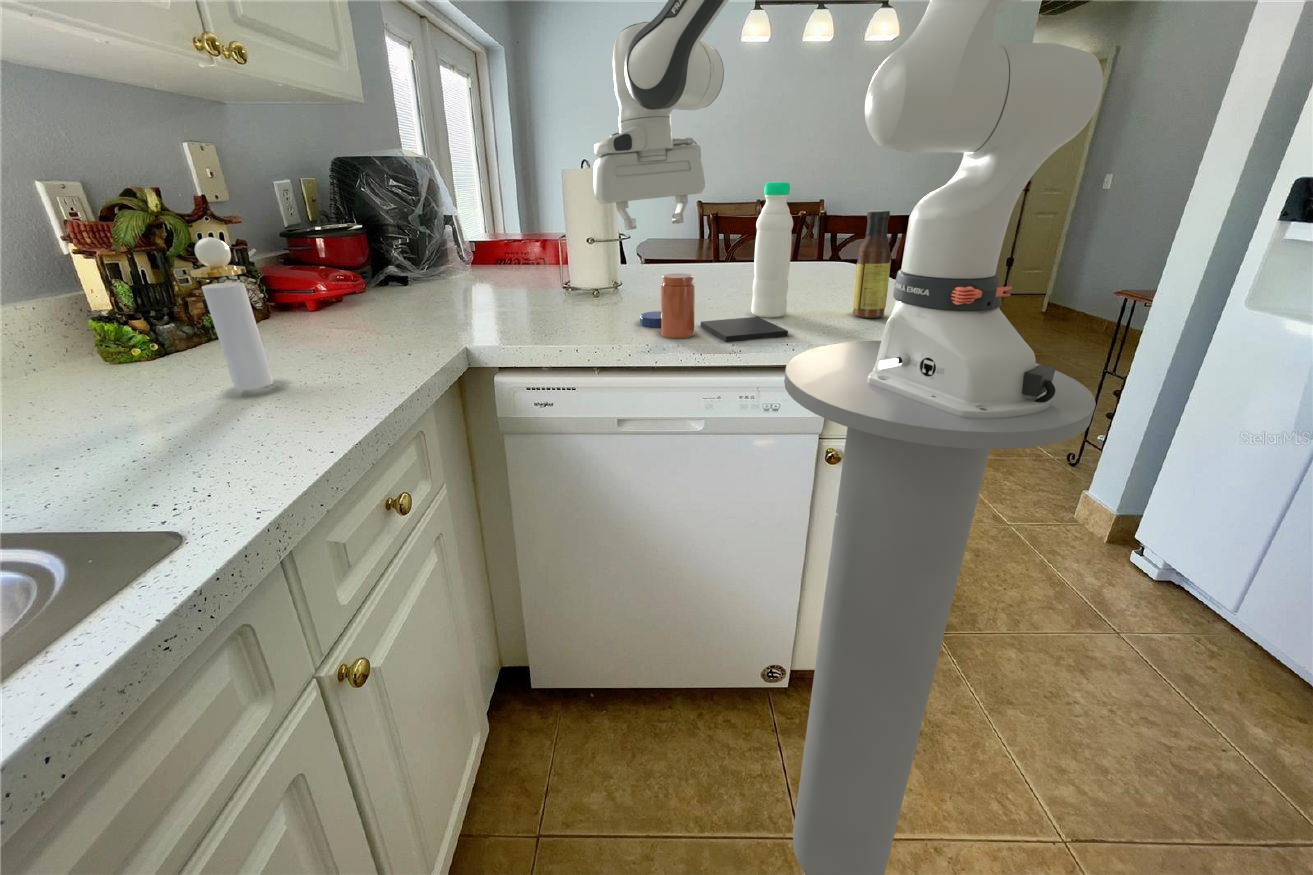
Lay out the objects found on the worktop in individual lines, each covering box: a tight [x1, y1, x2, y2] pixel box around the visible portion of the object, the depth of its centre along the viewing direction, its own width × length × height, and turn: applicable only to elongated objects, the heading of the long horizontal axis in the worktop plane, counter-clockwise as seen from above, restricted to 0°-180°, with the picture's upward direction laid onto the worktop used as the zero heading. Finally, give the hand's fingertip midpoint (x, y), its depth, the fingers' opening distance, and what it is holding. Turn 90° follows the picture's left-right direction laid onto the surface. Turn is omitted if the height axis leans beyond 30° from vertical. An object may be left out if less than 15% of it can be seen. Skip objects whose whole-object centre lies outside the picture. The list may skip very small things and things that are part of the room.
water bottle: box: [750, 181, 794, 318], centre depth 115 cm, size 7×7×25 cm
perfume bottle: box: [189, 236, 274, 391], centre depth 76 cm, size 6×6×20 cm
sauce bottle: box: [852, 209, 892, 319], centre depth 114 cm, size 7×6×20 cm
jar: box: [660, 272, 696, 339], centre depth 104 cm, size 6×6×10 cm
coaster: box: [700, 316, 789, 343], centre depth 107 cm, size 12×12×1 cm
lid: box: [639, 310, 661, 329], centre depth 113 cm, size 6×6×2 cm
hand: (654, 226), depth 104 cm, fingers open, 8 cm apart
